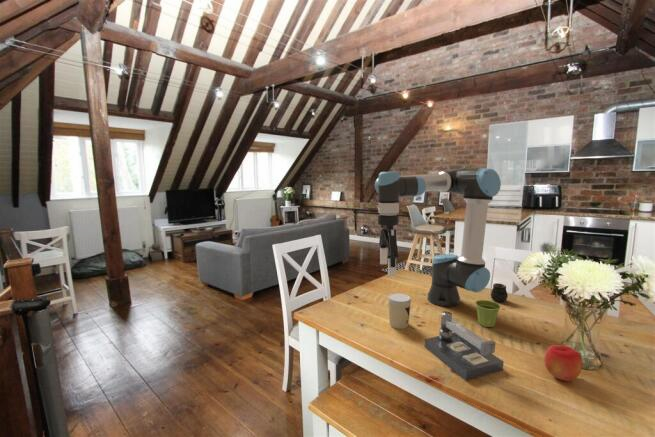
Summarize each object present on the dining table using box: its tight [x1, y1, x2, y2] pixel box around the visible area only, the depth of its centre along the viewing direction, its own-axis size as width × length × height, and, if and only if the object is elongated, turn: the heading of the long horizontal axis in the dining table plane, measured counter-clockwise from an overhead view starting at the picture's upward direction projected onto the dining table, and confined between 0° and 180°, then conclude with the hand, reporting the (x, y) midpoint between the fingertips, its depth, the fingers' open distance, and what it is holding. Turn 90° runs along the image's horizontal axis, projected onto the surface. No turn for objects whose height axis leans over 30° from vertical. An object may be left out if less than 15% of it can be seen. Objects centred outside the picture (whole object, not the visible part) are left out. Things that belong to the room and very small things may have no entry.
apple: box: [543, 344, 583, 382], centre depth 94 cm, size 10×10×10 cm
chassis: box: [424, 327, 504, 382], centre depth 106 cm, size 15×20×6 cm
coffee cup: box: [387, 292, 412, 330], centre depth 129 cm, size 9×9×12 cm
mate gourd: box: [490, 282, 508, 303], centre depth 151 cm, size 7×8×10 cm
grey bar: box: [440, 310, 496, 356], centre depth 104 cm, size 21×4×6 cm, turn 20°
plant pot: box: [474, 299, 501, 328], centre depth 128 cm, size 9×9×9 cm
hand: (387, 269), depth 117 cm, fingers open, 13 cm apart
